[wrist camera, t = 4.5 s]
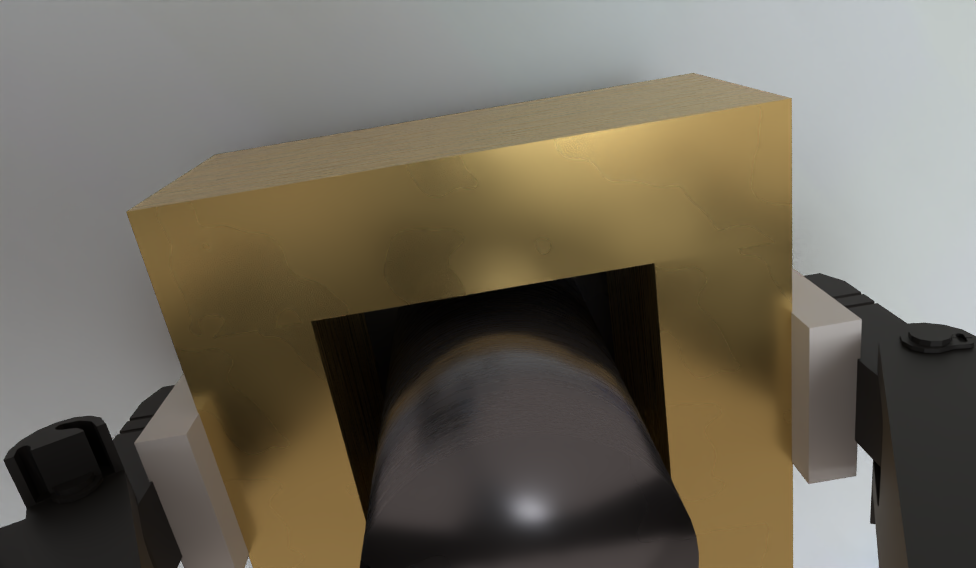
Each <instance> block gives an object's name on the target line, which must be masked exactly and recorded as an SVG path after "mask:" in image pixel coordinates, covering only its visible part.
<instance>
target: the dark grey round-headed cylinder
mask: <svg viewBox="0 0 976 568" xmlns="http://www.w3.org/2000/svg"><path fill="white" fill-rule="evenodd" d="M364 315H365V319H366V324H367V328H368V332H369V336H370V340H371V344H372V348H373V352H374V356H375V361H376V365H377V369H378V373H379V377H380V381H381V385H382V389H383V393H384V405H383V412H382V418H381V425H380V432H379V439H378V445H377V452H376V459H375V466H374V472H373V479H372V486H371V493H370V499H369V506H368V513H367V520H366V526H365V533H364V540H363V547H362V553H361V560H360V568H699V550H698V544H697V537H696V534H695V531H694V527H693V524H692V521H691V519H690V517H689V515H688V512H687V510H686V508H685V506H684V504H683V502H682V500H681V498H680V496H679V494H678V492H677V490H676V488H675V486H674V484H673V482H672V480H671V478H670V476H669V473H668V471H667V469H666V467H665V465H664V463H663V461H662V459H661V457H660V455H659V453H658V451H657V449H656V447H655V445H654V443H653V441H652V439H651V437H650V434H649V432H648V430H647V428H646V426H645V424H644V422H643V420H642V418H641V416H640V414H639V412H638V410H637V408H636V406H635V404H634V402H633V400H632V398H631V395H630V393H629V391H628V389H627V387H626V385H625V383H624V381H623V379H622V377H621V375H620V373H619V371H618V369H617V367H616V363H615V353H614V344H613V334H612V325H611V315H610V306H609V296H608V286H607V277H606V271H604V272H598V273H593V274H587V275H581V276H575V277H569V278H563V279H557V280H551V281H546V282H540V283H534V284H528V285H522V286H516V287H510V288H504V289H499V290H493V291H487V292H481V293H475V294H469V295H463V296H457V297H452V298H446V299H440V300H434V301H428V302H422V303H416V304H410V305H405V306H399V307H393V308H387V309H381V310H375V311H369V312H364Z"/></svg>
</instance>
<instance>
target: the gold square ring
mask: <svg viewBox="0 0 976 568" xmlns="http://www.w3.org/2000/svg"><path fill="white" fill-rule="evenodd" d="M126 213H127V215H128V218H129V221H130V224H131V227H132V229H133V232H134V235H135V238H136V241H137V243H138V246H139V249H140V252H141V255H142V257H143V260H144V263H145V266H146V269H147V272H148V274H149V277H150V280H151V283H152V286H153V288H154V291H155V294H156V297H157V300H158V302H159V305H160V308H161V311H162V314H163V316H164V319H165V322H166V325H167V328H168V330H169V333H170V336H171V339H172V342H173V345H174V347H175V350H176V353H177V356H178V359H179V361H180V364H181V367H182V370H183V373H184V375H185V378H186V381H187V384H188V387H189V389H190V392H191V395H192V398H193V401H194V403H195V406H196V409H197V412H198V413H199V415H200V418H201V421H202V423H203V426H204V429H205V432H206V435H207V438H208V440H209V443H210V446H211V449H212V452H213V454H214V457H215V460H216V463H217V466H218V468H219V471H220V474H221V477H222V480H223V483H224V485H225V488H226V491H227V494H228V497H229V499H230V502H231V505H232V508H233V511H234V513H235V516H236V519H237V522H238V525H239V528H240V530H241V533H242V536H243V539H244V542H245V544H246V547H247V550H248V553H249V558H250V561H251V564H252V566H253V568H360V560H361V553H362V547H363V540H364V533H365V526H366V520H367V513H368V506H369V499H370V493H371V486H372V479H373V472H374V466H375V459H376V452H377V445H378V439H379V432H380V425H381V418H382V412H383V405H384V393H383V389H382V385H381V381H380V377H379V373H378V369H377V365H376V361H375V356H374V352H373V348H372V344H371V340H370V336H369V332H368V328H367V324H366V319H365V315H364V312H369V311H375V310H381V309H387V308H393V307H399V306H405V305H410V304H416V303H422V302H428V301H434V300H440V299H446V298H452V297H457V296H463V295H469V294H475V293H481V292H487V291H493V290H499V289H504V288H510V287H516V286H522V285H528V284H534V283H540V282H546V281H551V280H557V279H563V278H569V277H575V276H581V275H587V274H593V273H598V272H604V271H606V277H607V286H608V296H609V306H610V315H611V325H612V334H613V344H614V353H615V363H616V367H617V369H618V371H619V373H620V375H621V377H622V379H623V381H624V383H625V385H626V387H627V389H628V391H629V393H630V395H631V398H632V400H633V402H634V404H635V406H636V408H637V410H638V412H639V414H640V416H641V418H642V420H643V422H644V424H645V426H646V428H647V430H648V432H649V434H650V437H651V439H652V441H653V443H654V445H655V447H656V449H657V451H658V453H659V455H660V457H661V459H662V461H663V463H664V465H665V467H666V469H667V471H668V473H669V476H670V478H671V480H672V482H673V484H674V486H675V488H676V490H677V492H678V494H679V496H680V498H681V500H682V502H683V504H684V506H685V508H686V510H687V512H688V515H689V517H690V519H691V521H692V524H693V527H694V531H695V534H696V537H697V544H698V550H699V568H793V463H792V351H791V312H792V98H788V97H785V96H781V95H777V94H773V93H769V92H765V91H761V90H757V89H753V88H749V87H746V86H742V85H738V84H734V83H730V82H726V81H722V80H718V79H714V78H711V77H707V76H703V75H699V74H695V73H691V74H685V75H679V76H674V77H668V78H662V79H656V80H650V81H644V82H638V83H632V84H627V85H621V86H615V87H609V88H603V89H597V90H591V91H586V92H580V93H574V94H568V95H562V96H556V97H550V98H545V99H539V100H533V101H527V102H521V103H515V104H509V105H504V106H498V107H492V108H486V109H480V110H474V111H468V112H462V113H457V114H451V115H445V116H439V117H433V118H427V119H421V120H416V121H410V122H404V123H398V124H392V125H386V126H380V127H375V128H369V129H363V130H357V131H351V132H345V133H339V134H334V135H328V136H322V137H316V138H310V139H304V140H298V141H292V142H287V143H281V144H275V145H269V146H263V147H257V148H251V149H246V150H240V151H234V152H228V153H222V154H216V155H214V156H212V157H210V158H209V159H207V160H206V161H204V162H203V163H201V164H200V165H198V166H197V167H195V168H193V169H192V170H190V171H189V172H187V173H186V174H184V175H183V176H181V177H179V178H178V179H176V180H175V181H173V182H172V183H170V184H169V185H167V186H165V187H164V188H162V189H161V190H159V191H158V192H156V193H155V194H153V195H151V196H150V197H148V198H147V199H145V200H144V201H142V202H141V203H139V204H138V205H136V206H134V207H133V208H131V209H130V210H128V211H127V212H126Z"/></svg>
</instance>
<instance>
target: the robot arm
mask: <svg viewBox="0 0 976 568" xmlns="http://www.w3.org/2000/svg"><path fill="white" fill-rule="evenodd" d="M791 351H792V463H793V464H794V466H795V467H796V468H797V469H798V471H799V472H800V473H801V475H802V476H803V477H804V479H805V480H806V481H807V482H808V484H811V483H817V482H823V481H829V480H835V479H841V478H846V477H852V476H856V468H857V443H858V444H859V445H860V446H861V447H862V448H863V449H864V450H865V451H866V452H867V453H868V455H869V456H870V457H871V458H872V459H873V474H872V496H871V518H870V524H876V536H877V548H878V560H879V568H976V336H974V335H972V334H970V333H968V332H966V331H964V330H962V329H958V328H954V327H950V326H947V325H941V324H931V323H910V324H907V323H906V322H904V321H903V320H901V319H900V318H898V317H897V316H895V315H894V314H892V313H891V312H889V311H888V310H887V309H885V308H884V307H882V306H881V305H879V304H878V303H876V304H874V301H873V300H872V299H870V298H869V297H867V296H866V295H864V294H862V295H861V292H860V291H858V290H857V289H856V288H854V287H853V286H851V285H850V284H848V283H847V282H845V281H843V280H840V279H836V278H833V277H830V276H827V275H824V274H820V273H819V274H813V275H807V276H803V275H801V274H800V273H799V272H797V271H796V270H794V269H793V268H792V312H791ZM4 462H5V464H6V467H7V469H8V471H9V473H10V475H11V477H12V479H13V481H14V483H15V485H16V487H17V489H18V491H19V493H20V495H21V497H22V500H23V502H24V504H25V506H26V508H27V510H26V519H24V520H22V521H19V522H16V523H13V524H10V525H8V526H5V527H2V528H0V568H177V567H178V565H179V563H180V561H182V564H183V566H184V568H244V567H245V565H246V562H247V559H248V556H249V553H248V550H247V547H246V544H245V542H244V539H243V536H242V533H241V530H240V528H239V525H238V522H237V519H236V516H235V513H234V511H233V508H232V505H231V502H230V499H229V497H228V494H227V491H226V488H225V485H224V483H223V480H222V477H221V474H220V471H219V468H218V466H217V463H216V460H215V457H214V454H213V452H212V449H211V446H210V443H209V440H208V438H207V435H206V432H205V429H204V426H203V423H202V421H201V418H200V415H199V413H198V412H197V409H196V406H195V403H194V401H193V398H192V395H191V392H190V389H189V387H188V384H187V381H186V378H185V375H184V373H183V375H182V376H181V378H180V379H179V380H178V382H177V383H176V385H172V386H166V387H162V388H161V389H159V390H158V391H157V392H155V393H154V394H153V395H151V396H150V397H149V398H147V399H146V400H145V401H143V402H142V403H141V404H140V405H139V407H138V408H137V409H136V411H135V412H134V413H133V415H132V416H131V417H130V421H128V422H127V423H126V424H125V425H124V426H123V428H122V429H121V430H120V434H118V435H117V436H116V437H115V438H114V440H112V438H111V435H110V433H109V430H108V428H107V426H106V423H105V422H104V421H103V420H102V418H100V417H94V416H83V417H74V418H71V419H67V420H64V421H60V422H57V423H54V424H52V425H49V426H47V427H45V428H42V429H40V430H38V431H36V432H34V433H33V434H31V435H29V436H27V437H26V438H24V439H22V440H21V441H20V442H18V443H17V444H16V445H15V446H14V447H13V448H12V449H10V450H9V451H8V453H7V455H6V457H5V459H4Z"/></svg>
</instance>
